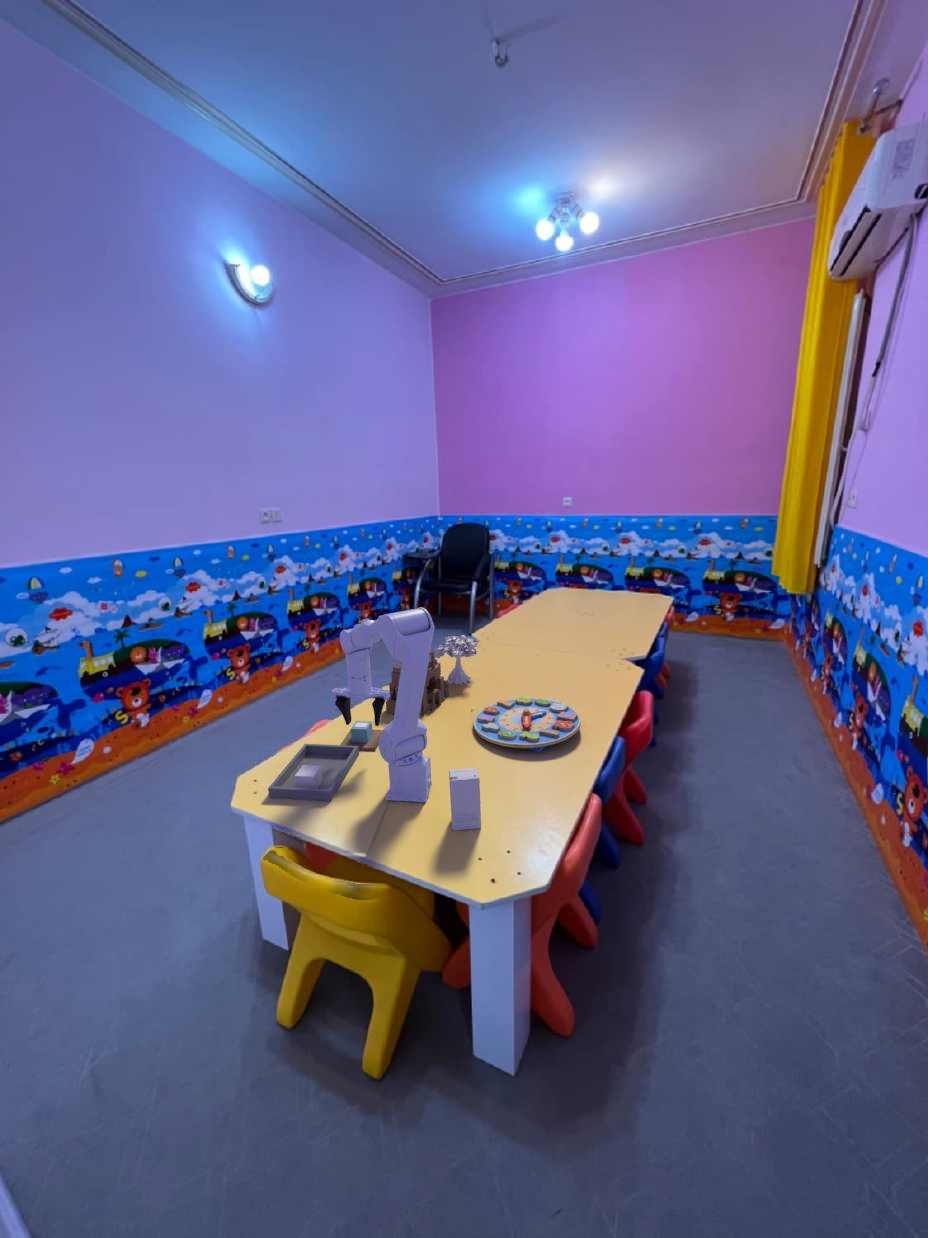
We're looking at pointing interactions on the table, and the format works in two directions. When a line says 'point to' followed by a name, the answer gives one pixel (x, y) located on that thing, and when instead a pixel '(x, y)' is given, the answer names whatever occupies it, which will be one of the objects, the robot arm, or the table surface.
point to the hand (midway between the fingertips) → (363, 723)
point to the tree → (457, 655)
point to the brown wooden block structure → (433, 687)
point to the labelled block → (361, 731)
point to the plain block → (309, 776)
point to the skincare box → (465, 798)
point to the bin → (334, 772)
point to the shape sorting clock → (527, 723)
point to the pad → (368, 746)
